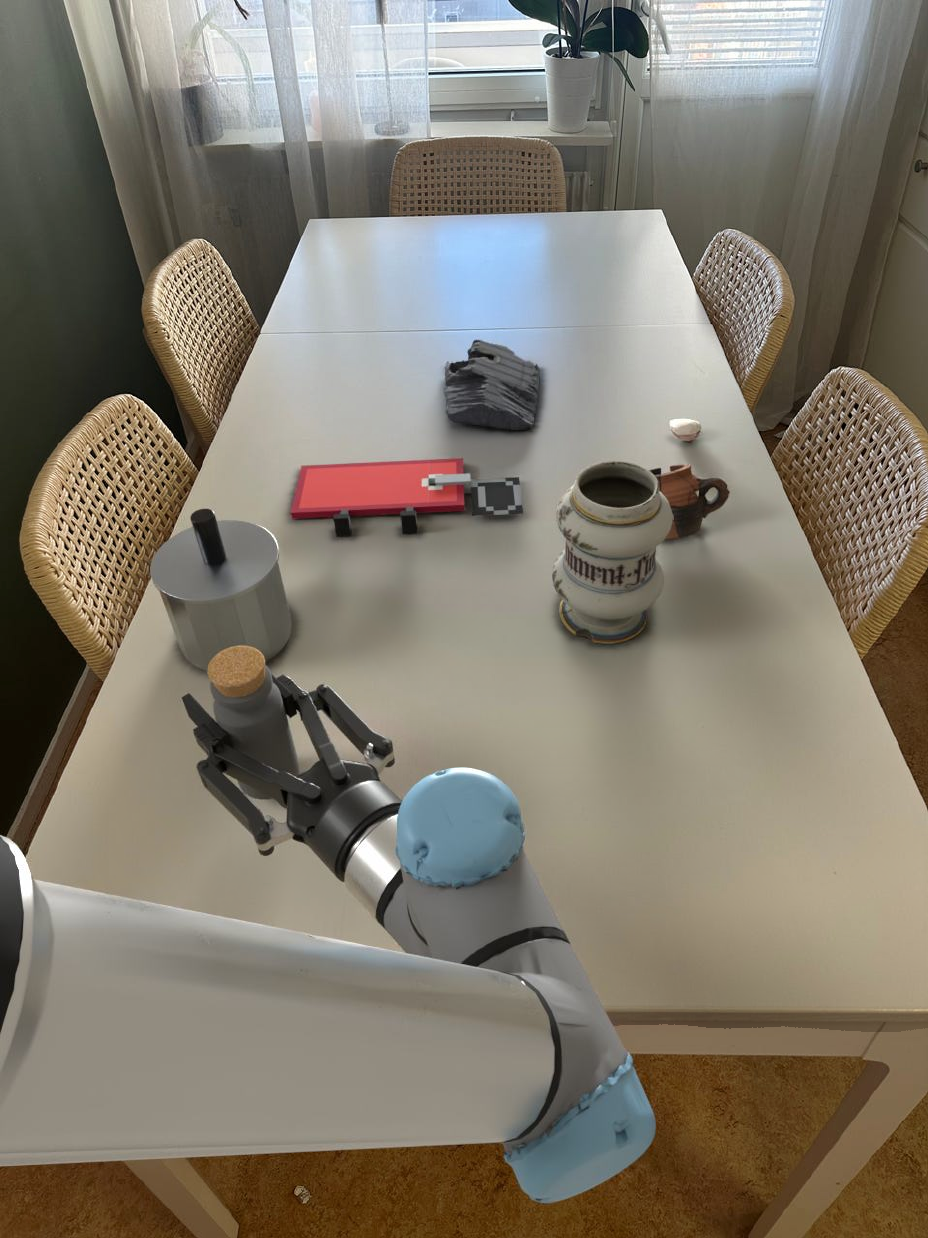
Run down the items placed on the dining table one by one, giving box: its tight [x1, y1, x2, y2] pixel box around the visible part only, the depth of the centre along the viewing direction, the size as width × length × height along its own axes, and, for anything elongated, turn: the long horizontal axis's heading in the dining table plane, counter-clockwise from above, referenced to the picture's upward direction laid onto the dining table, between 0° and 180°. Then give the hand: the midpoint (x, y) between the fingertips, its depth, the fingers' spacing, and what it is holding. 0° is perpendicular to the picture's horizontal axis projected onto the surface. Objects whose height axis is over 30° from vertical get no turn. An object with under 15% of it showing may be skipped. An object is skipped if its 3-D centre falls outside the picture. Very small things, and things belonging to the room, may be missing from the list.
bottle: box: [207, 646, 301, 801], centre depth 77 cm, size 6×6×15 cm
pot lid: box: [149, 508, 280, 604], centre depth 89 cm, size 13×13×7 cm
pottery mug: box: [648, 463, 731, 541], centre depth 110 cm, size 12×10×8 cm
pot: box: [159, 562, 293, 672], centre depth 94 cm, size 12×12×10 cm
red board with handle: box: [290, 457, 524, 538], centre depth 115 cm, size 30×3×15 cm
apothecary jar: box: [551, 460, 673, 645], centre depth 92 cm, size 12×12×18 cm
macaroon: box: [669, 418, 702, 442], centre depth 124 cm, size 4×5×2 cm
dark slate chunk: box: [444, 339, 540, 431], centre depth 133 cm, size 15×22×5 cm
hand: (221, 686), depth 79 cm, fingers closed on bottle, 6 cm apart
